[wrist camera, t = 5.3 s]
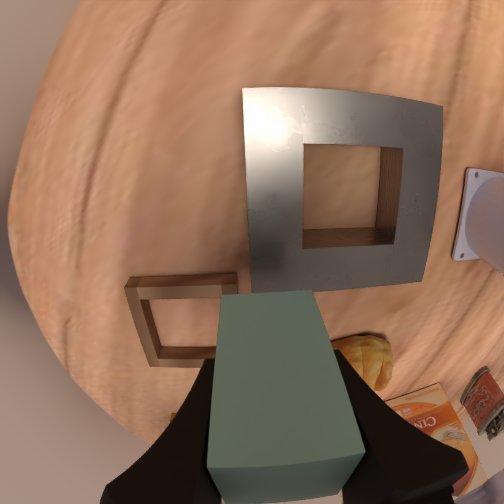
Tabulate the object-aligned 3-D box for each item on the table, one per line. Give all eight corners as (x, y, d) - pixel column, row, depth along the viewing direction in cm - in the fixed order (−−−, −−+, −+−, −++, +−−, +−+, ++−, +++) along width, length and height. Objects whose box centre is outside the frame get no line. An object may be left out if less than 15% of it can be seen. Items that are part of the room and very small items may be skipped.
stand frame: (236, 273, 21) (236, 284, 20) (242, 354, 24) (243, 366, 23) (130, 277, 21) (123, 287, 19) (153, 354, 24) (149, 366, 23)
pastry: (286, 387, 27) (290, 417, 23) (288, 337, 24) (295, 370, 21) (374, 375, 27) (385, 402, 24) (389, 325, 24) (405, 353, 21)
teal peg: (311, 289, 13) (365, 452, 6) (306, 353, 15) (337, 494, 7) (221, 294, 13) (206, 467, 6) (229, 358, 15) (225, 504, 7)
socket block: (418, 105, 16) (443, 106, 13) (403, 262, 21) (421, 281, 18) (242, 93, 16) (242, 88, 13) (250, 272, 21) (252, 295, 18)
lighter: (471, 397, 32) (496, 441, 23) (456, 404, 33) (480, 451, 23) (490, 363, 29) (522, 410, 20) (475, 370, 29) (507, 421, 20)
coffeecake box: (440, 380, 29) (500, 501, 11) (426, 410, 32) (471, 518, 14) (329, 413, 29) (363, 565, 12) (327, 439, 32) (352, 566, 15)
